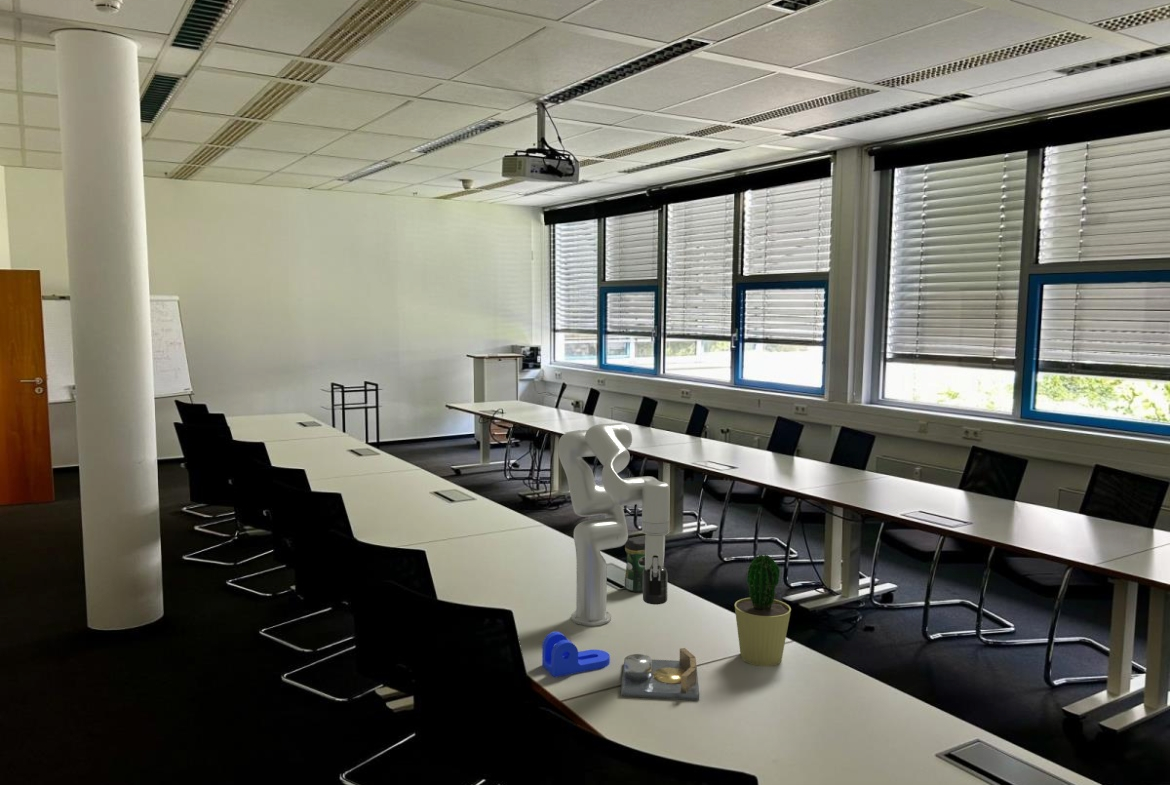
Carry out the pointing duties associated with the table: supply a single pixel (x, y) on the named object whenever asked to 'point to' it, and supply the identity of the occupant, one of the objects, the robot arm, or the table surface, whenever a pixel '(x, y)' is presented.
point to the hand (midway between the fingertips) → (655, 589)
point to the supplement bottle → (663, 597)
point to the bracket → (569, 656)
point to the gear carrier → (660, 677)
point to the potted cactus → (762, 615)
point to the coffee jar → (635, 563)
